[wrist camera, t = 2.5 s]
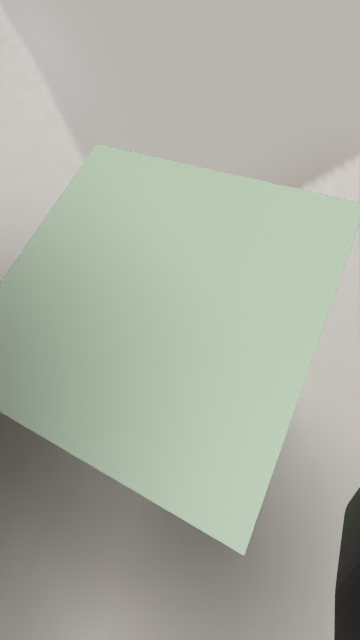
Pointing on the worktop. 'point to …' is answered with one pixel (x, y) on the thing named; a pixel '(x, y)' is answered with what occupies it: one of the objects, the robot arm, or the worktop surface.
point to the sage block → (172, 328)
